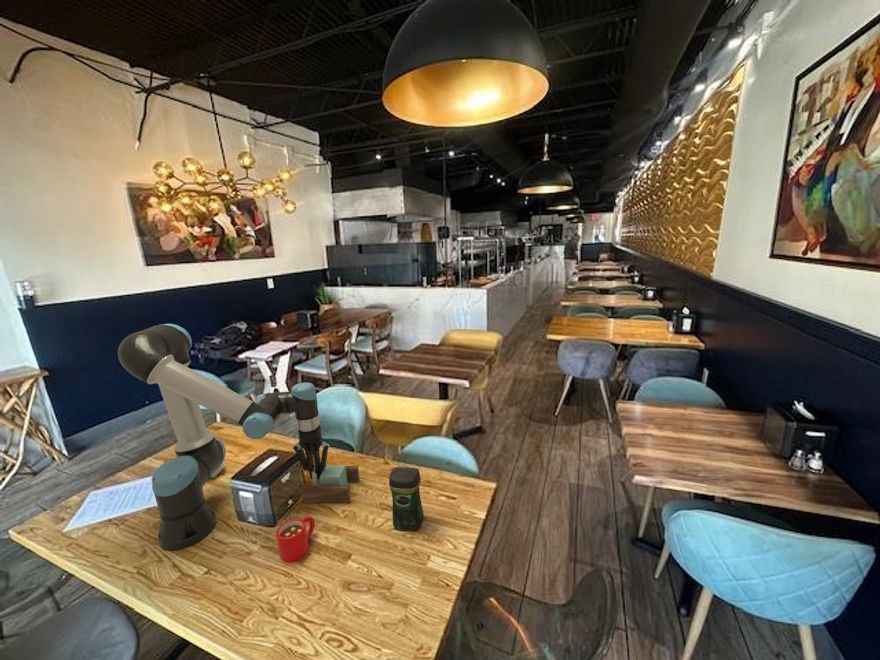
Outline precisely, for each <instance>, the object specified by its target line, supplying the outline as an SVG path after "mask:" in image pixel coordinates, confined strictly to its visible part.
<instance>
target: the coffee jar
mask: <svg viewBox="0 0 880 660" xmlns="http://www.w3.org/2000/svg"><path fill="white" fill-rule="evenodd" d="M420 474H421V473H420V470H419V469H418V468H416V467H408V466H406V467H405V466H399V467H398V466H396V467H393V468H392V470H391V471H390V473H389V478H388V487H389V489H390V492H391V498H392V514H391V515H392V525H393V527H394V529H397V530H401V531H402V530H403V531H417V530H418V529H420V528H421V527H422V525H423V522H424V518H425V517H424V516H425V515H424V509H423V505H422V501H421V500H422V499H421V493H420V487H421V482H422V478H421V475H420Z"/></svg>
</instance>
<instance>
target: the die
mask: <svg viewBox="0 0 880 660" xmlns="http://www.w3.org/2000/svg"><path fill="white" fill-rule="evenodd" d="M225 467H226V466H225V461H224V460H223V462H222V464H221V466H220V467H219V468H218V469H217V470H216V471H215V472H214V474H213V475H212V476H211V477H210V478H212V479H215V477H217V475H218V474H219V473H220V472H221V471H222V470H223V469H224V468H225Z"/></svg>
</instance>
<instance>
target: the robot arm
mask: <svg viewBox="0 0 880 660" xmlns="http://www.w3.org/2000/svg"><path fill="white" fill-rule="evenodd" d="M192 344H193V341H192V337H191V335H190V333H189V332H188V330H187V329H185V328H184V327H181V326H180V325H177V324H173V323H164V324H158V325H154V326H151V327H149V328H145V329H143V330H140V331H136V332H133V333H131V334H129V335H127V336H126V337H125V338H124V339H122V341H121V342H120V343H119V346H118V348H117V357H118V361H119V362H120V364H121V366H122V367H123V368H124V369H125V371H127V372H128V373H129V374H131V375H132V376H133V377H134V378H136V379H138V380H141V381H142V382H144V383H146V384H148V385H153V384H157V385H158V387H159V390H160V393H161V396H162V398H163V399H162V400H163V402H164V405H165V408H166V411H167V414H168V416H169V420H170V422H171V426H172V428H173V431H174V434H175V437H176V440H177V443H176V445H175V446H174V452H175V454H176V456H175V457H174V458H171V459H169V461H165V462H163V463H162V464H160V465H159V466H158V467H157V468H156V469H155V470H154V472H153V473H152V476H151V485H152V486H151V487H152V491H153V493H154V498H155V500H156V505H157V510H158V513H159V517H160V524H159V530H158V531H159V532H158V535H157V537H158V538H157V539H158V543H159V546H160V548H161V549H163V550H165V551H176V550H181V549H184V548H189V547H190V546H192V545H195V544H196V543H198V542H199V541H202V540H203V539H204V538H206V536H208V535H209V534H210V533H211V532H212V531H213V530H214V528H215V526H216V524H217V518H216V514H215V512H214V511H213V510H212V509H211V508H210V506H209V505H208V503H207V502H206V500H205V494H204V489H203V488H204V486H205V485H206V483H207V482H208V481H209V480H210V479H211V478H212V477H211V476H212V475H213V474H214V472H215V471H216V470H217V469H218V468H219V467H220V466H221V464H222V462H223V461H224V460H225V457H226V453H227V452H226V446H225V444H224V443H223V441H222V440H221V439H219V438H218V437H216V436H215V434H214V433H213V432H211V431H208V429H207V426H206V422H205V420H204V416H203V414H202V411H201V407H200V406H202V407H204V409H208V410H210V411H212V412H213V413H215V414H218V415H220V416H222V417H223V418H226V419H228V420H230V421H232V422H234V423H236V424H238V425H240V426H241V427H242V432H243V434H244V435H245V437H247V438H249V439H252V440H261V439H262V438H265V437H266V436H267V435H268V434H269V433H270V431H271V430H273V428H274V426H275V424H276V422H277V421H278V420H279V418H280V417H281V416H282V415H290V414H295V421H296V428H297V434H298V440H299V441H298V442H297V443H296V444H295V445H293V447H292V449H293V451H294V452H295V453H296V456H297V458H298V460H299V462H300V465H301V467H302V470H303V471H308V473H309V479H310V480H312V483H313V485H321V484H320V476H321V474H322V472H321V470H323V469H324V468H325V466H327V460H328V459H327V458H328V452H329V447H330V446H331V443H330V442H325V441H324V439H323V437H322V428H321V421H320V415H319V407H318V405H319V404H318V399H317V392H316V387H315V385H314V383H312V382H301V383H297V384H294V385H293V386H292V388H291V391H281V392H280V391H278V392H266V393H261V394H258V395H256V397H255V400H254V401H253V400H251V399H249V398H247V397H245V396H243V395H241V394H240V393H237V392H235V391H234V390H232V389H230V388H228V387H226V386H224V385H222V384H220V383H218V382H217V381H215V380H214V379H211V378H208V377H207V376H205V375H203V374H201V373H199V372H198V371H195V370H194V369H192V368H190V367H189V365H190V364H191V362H192V360H191V357H190V354H189V352H190V350H191V348H192ZM320 448H322V453H321V454H320V450H321V449H320ZM298 456H299V457H298Z"/></svg>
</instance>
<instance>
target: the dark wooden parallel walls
mask: <svg viewBox="0 0 880 660" xmlns="http://www.w3.org/2000/svg"><path fill="white" fill-rule="evenodd" d="M326 466H327V465H326ZM326 466H325V468H326ZM325 468H324V469H325ZM324 469H323V470H321V472H323V471H324ZM346 474H347V482H348V483H360V470H359V465H346ZM301 493H302V498H301V500H300V504H346V505H347V504H350V503H351V497H350V496H351V494H350V487H349V484H348V485H321V484H320V485H313V482H311V484H309V485H302V487H301Z"/></svg>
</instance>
